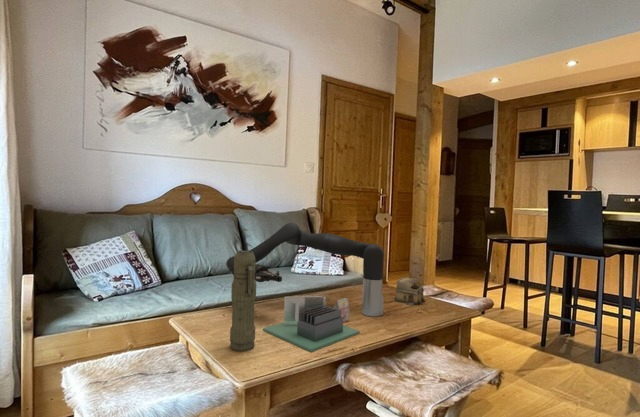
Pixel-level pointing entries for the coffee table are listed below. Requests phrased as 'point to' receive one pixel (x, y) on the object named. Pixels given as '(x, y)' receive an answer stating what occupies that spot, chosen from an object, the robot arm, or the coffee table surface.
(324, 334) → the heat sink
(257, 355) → the coffee table surface
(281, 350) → the coffee table surface
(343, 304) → the tea bag
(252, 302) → the thermos
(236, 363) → the coffee table surface
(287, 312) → the silver metal plate
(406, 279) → the miniature house
